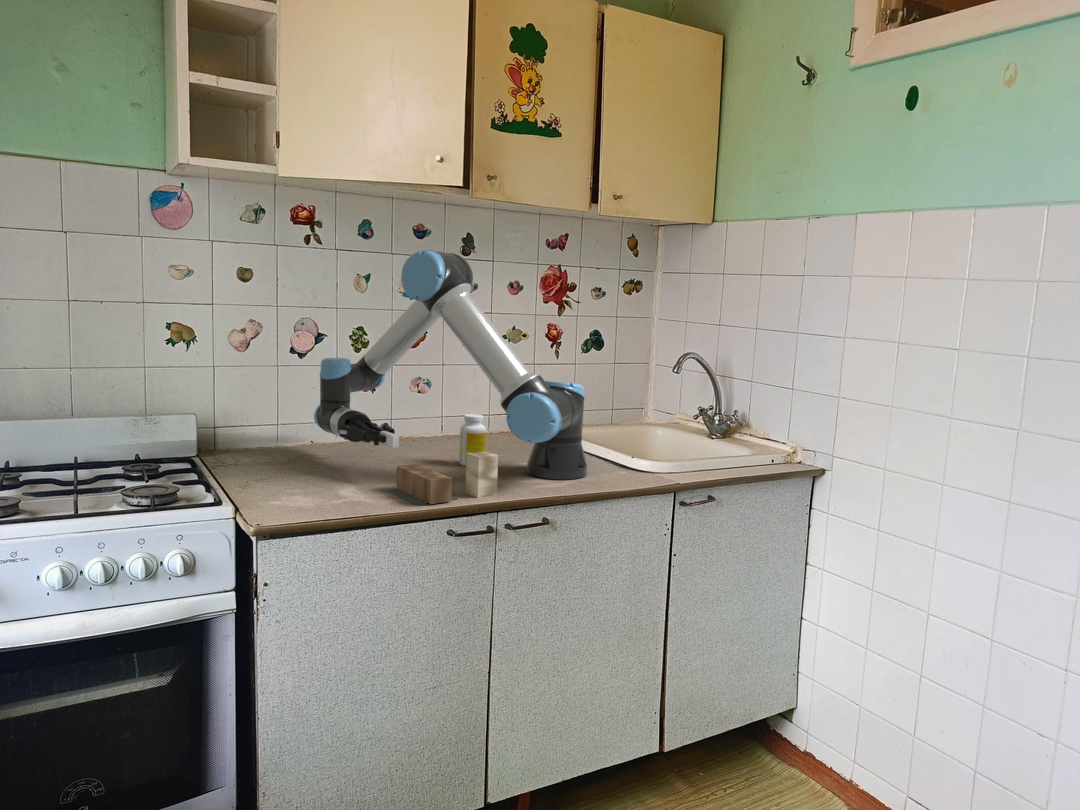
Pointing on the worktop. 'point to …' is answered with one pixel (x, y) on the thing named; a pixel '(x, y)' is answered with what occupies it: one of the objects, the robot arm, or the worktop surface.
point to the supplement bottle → (472, 436)
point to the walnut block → (424, 483)
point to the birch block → (481, 474)
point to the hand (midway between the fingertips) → (395, 441)
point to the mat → (411, 497)
